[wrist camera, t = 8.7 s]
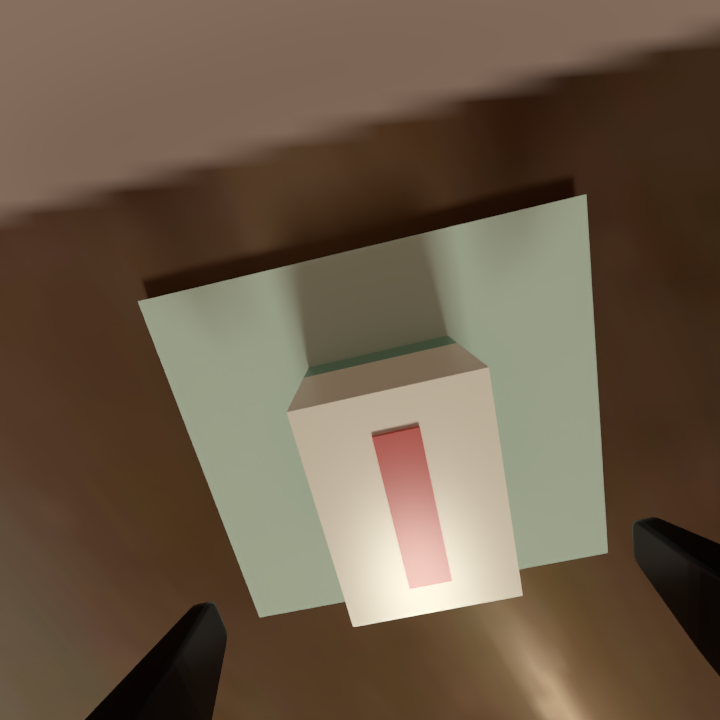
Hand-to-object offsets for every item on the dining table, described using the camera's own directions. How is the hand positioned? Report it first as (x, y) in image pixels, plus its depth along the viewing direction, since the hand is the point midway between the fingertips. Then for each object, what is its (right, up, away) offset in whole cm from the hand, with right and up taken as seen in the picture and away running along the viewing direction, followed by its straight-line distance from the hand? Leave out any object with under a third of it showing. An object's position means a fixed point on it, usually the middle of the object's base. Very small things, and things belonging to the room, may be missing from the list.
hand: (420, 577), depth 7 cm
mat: (0, +2, +6) cm, 7 cm away
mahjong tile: (0, +2, +6) cm, 6 cm away
